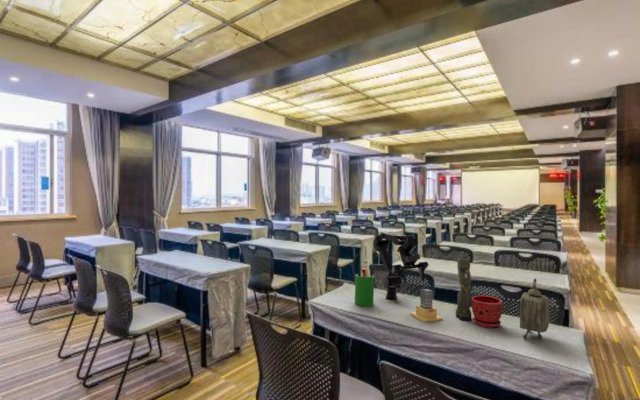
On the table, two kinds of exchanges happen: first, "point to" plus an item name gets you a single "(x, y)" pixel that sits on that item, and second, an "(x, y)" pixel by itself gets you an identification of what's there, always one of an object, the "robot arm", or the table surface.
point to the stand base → (426, 314)
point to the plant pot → (487, 310)
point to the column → (426, 298)
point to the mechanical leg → (464, 290)
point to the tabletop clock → (534, 311)
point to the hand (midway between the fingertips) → (414, 282)
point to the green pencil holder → (364, 289)
